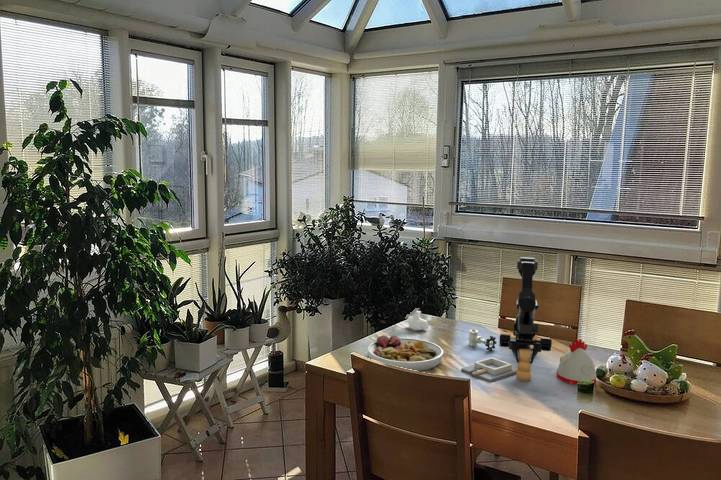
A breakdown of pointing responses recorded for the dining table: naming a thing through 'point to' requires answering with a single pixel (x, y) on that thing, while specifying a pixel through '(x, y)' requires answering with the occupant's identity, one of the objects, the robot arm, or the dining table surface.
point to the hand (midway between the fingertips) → (524, 362)
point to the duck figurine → (417, 322)
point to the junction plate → (491, 369)
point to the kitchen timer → (576, 364)
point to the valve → (481, 340)
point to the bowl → (406, 352)
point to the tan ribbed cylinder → (524, 365)
